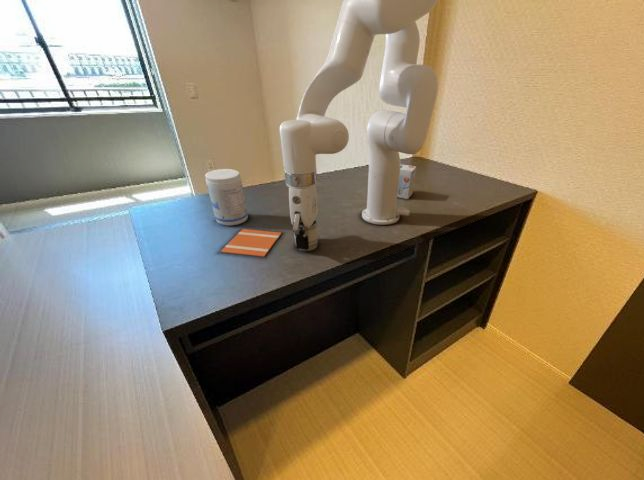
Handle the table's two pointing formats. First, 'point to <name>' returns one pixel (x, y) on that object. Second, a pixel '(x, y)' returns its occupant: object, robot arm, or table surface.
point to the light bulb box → (406, 181)
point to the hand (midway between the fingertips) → (306, 241)
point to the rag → (251, 242)
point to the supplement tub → (227, 196)
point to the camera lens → (311, 236)
